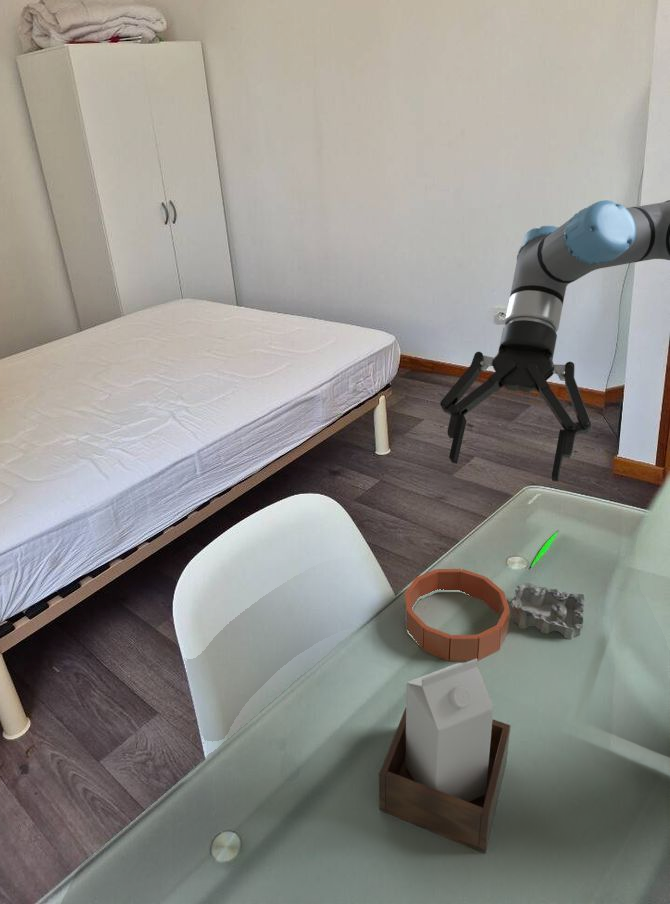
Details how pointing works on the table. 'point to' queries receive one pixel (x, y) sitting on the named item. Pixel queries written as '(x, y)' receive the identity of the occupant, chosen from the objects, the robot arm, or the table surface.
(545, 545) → the leaf
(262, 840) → the table surface
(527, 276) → the robot arm
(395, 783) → the box
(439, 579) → the orange faceted ring
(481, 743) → the milk carton
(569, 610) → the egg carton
